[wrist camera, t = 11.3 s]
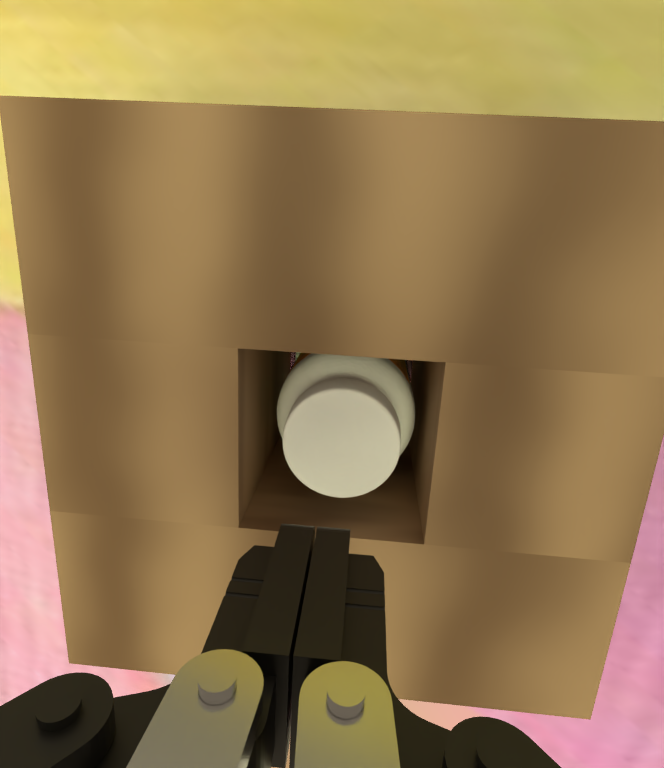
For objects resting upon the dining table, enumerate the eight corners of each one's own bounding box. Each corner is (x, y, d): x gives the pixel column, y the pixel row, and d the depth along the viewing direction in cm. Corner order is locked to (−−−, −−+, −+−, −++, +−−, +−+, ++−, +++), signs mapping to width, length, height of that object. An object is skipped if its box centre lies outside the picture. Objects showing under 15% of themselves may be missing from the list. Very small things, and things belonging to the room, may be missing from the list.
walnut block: (582, 167, 24) (743, 124, 13) (515, 545, 30) (590, 719, 19) (155, 148, 25) (-2, 95, 15) (172, 514, 31) (69, 663, 21)
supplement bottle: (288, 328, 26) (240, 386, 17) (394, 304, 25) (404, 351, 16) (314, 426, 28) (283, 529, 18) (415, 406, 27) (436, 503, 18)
